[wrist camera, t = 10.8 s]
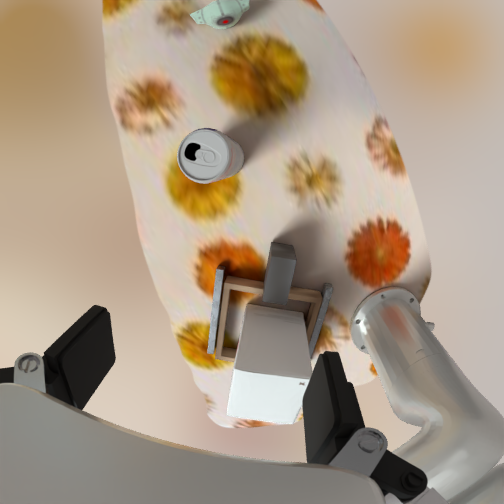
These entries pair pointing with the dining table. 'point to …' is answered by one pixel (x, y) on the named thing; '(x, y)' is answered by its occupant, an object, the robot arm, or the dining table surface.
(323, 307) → the lane rails
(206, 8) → the robot head
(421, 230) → the dining table surface
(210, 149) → the energy drink
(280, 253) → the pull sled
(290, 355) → the supplement box
